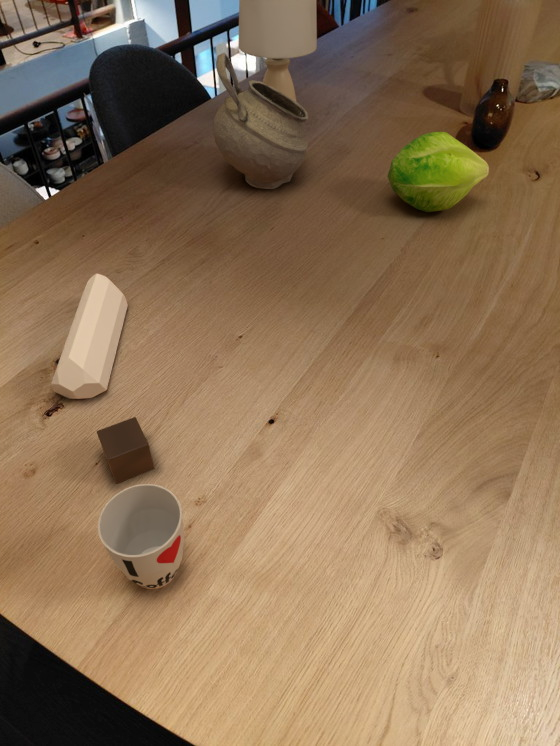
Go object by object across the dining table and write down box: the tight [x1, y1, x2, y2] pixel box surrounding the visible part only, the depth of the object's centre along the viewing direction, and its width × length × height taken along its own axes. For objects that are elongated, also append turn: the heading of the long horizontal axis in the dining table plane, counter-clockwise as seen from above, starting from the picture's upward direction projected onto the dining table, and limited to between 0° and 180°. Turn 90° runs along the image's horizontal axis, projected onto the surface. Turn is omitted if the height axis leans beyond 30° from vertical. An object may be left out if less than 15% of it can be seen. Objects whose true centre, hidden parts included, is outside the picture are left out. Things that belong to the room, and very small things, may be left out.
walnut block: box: [96, 416, 155, 485], centre depth 71 cm, size 5×5×5 cm
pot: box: [212, 52, 309, 190], centre depth 120 cm, size 21×21×25 cm
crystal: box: [50, 272, 128, 400], centre depth 86 cm, size 7×7×24 cm
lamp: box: [238, 0, 318, 102], centre depth 136 cm, size 19×19×37 cm
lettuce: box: [387, 131, 490, 213], centre depth 116 cm, size 15×20×14 cm
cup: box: [97, 483, 185, 590], centre depth 59 cm, size 8×8×10 cm
